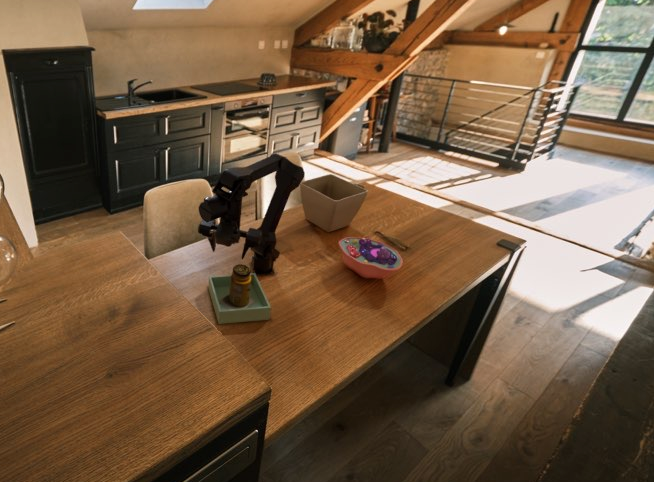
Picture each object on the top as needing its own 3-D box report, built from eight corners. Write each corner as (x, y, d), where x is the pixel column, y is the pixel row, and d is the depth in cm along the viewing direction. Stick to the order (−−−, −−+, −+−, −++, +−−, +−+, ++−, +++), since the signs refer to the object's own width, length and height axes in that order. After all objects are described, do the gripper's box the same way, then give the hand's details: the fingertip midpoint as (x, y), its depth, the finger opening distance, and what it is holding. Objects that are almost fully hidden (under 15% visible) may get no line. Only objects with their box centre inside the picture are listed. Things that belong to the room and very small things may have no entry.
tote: (253, 284, 125) (255, 273, 123) (269, 319, 111) (271, 307, 110) (208, 287, 124) (208, 276, 122) (218, 324, 110) (219, 311, 108)
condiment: (254, 301, 117) (258, 269, 113) (237, 315, 112) (240, 282, 107) (236, 289, 122) (239, 258, 118) (218, 301, 117) (220, 270, 112)
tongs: (376, 231, 155) (377, 227, 154) (409, 248, 145) (410, 244, 144) (370, 235, 152) (372, 230, 152) (403, 252, 143) (405, 248, 142)
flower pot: (293, 216, 165) (298, 181, 158) (324, 206, 173) (331, 173, 166) (328, 239, 149) (335, 201, 143) (360, 227, 158) (369, 190, 151)
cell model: (347, 248, 144) (353, 222, 139) (404, 274, 131) (413, 246, 126) (325, 268, 133) (331, 241, 129) (386, 298, 120) (394, 269, 115)
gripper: (192, 217, 109) (190, 262, 115) (256, 232, 102) (251, 278, 108) (204, 200, 118) (203, 242, 124) (265, 212, 112) (260, 256, 118)
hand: (228, 254), depth 119 cm, fingers open, 9 cm apart
